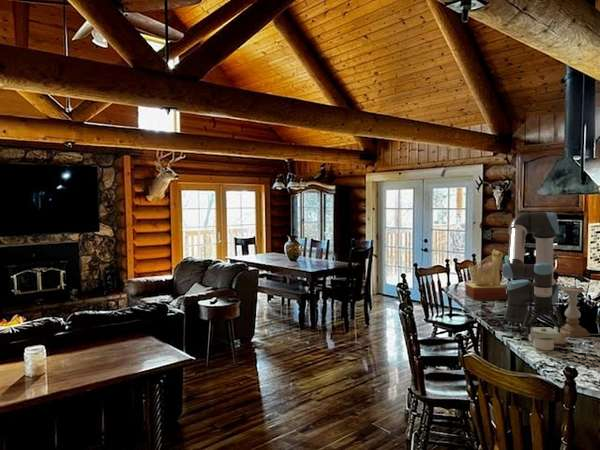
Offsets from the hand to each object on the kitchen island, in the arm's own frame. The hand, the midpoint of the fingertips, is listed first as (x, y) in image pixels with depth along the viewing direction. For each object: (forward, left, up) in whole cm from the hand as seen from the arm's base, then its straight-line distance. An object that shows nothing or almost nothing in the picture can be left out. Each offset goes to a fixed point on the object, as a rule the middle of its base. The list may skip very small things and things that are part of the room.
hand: (543, 340), depth 213 cm
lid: (0, 0, +3) cm, 3 cm away
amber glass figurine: (-114, +9, -4) cm, 114 cm away
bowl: (0, 0, -3) cm, 3 cm away
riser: (-9, +10, -3) cm, 14 cm away
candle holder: (-22, +24, -4) cm, 33 cm away
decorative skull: (-153, +24, -4) cm, 155 cm away
